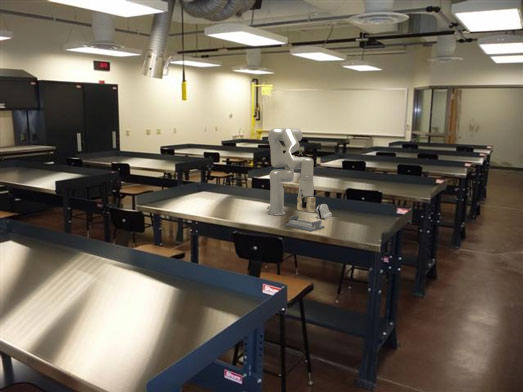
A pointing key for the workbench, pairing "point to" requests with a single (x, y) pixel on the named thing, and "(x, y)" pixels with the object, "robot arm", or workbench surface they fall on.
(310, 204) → the door panel
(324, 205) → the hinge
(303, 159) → the robot arm
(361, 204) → the workbench surface
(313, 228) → the track board
